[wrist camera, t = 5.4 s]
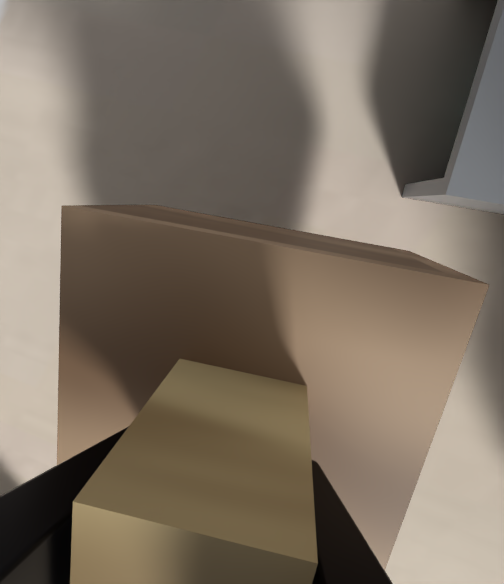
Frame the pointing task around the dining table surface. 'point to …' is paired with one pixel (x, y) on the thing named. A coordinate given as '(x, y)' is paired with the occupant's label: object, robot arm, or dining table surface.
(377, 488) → the hood walnut
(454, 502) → the dining table surface
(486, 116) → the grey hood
